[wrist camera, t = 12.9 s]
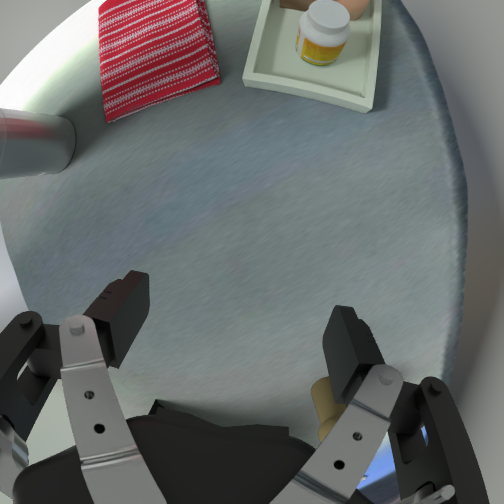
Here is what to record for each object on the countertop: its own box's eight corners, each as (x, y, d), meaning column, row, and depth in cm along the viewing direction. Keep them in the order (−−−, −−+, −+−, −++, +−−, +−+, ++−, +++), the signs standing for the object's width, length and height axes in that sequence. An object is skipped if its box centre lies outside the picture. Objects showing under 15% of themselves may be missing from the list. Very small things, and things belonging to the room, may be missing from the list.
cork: (340, 370, 39) (353, 421, 29) (351, 393, 40) (364, 442, 30) (304, 385, 40) (309, 437, 30) (318, 406, 41) (324, 456, 31)
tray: (245, 86, 30) (242, 78, 27) (273, -23, 25) (272, -34, 22) (364, 113, 30) (372, 108, 27) (376, 1, 24) (381, -9, 21)
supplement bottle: (287, 41, 27) (290, 0, 18) (324, 30, 26) (337, -11, 17) (308, 74, 28) (319, 39, 19) (345, 62, 27) (367, 27, 18)
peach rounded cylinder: (329, 15, 25) (335, -4, 21) (331, -5, 24) (337, -25, 19) (361, 24, 25) (371, 7, 20) (362, 3, 24) (371, -15, 19)
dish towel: (198, -30, 25) (193, -39, 23) (225, 84, 31) (221, 78, 28) (101, 10, 27) (94, 4, 25) (109, 125, 33) (99, 123, 30)
